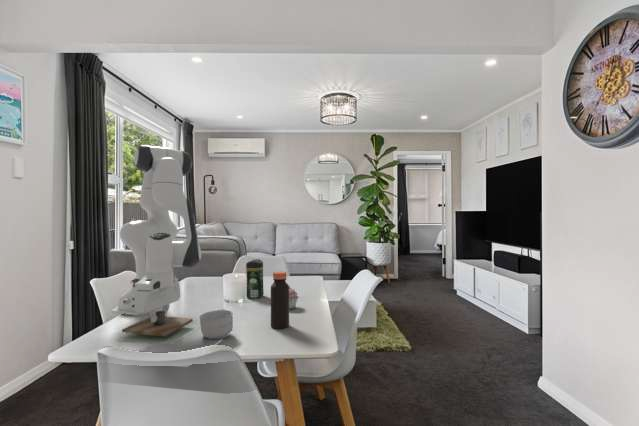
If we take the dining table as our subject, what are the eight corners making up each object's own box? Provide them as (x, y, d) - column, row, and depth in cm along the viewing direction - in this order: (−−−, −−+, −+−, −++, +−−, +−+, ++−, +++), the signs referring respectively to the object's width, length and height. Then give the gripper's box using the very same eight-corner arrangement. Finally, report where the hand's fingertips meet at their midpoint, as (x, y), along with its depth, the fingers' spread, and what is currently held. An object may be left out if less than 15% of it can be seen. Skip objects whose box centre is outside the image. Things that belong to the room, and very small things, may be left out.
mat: (116, 342, 119) (116, 340, 119) (154, 323, 138) (154, 322, 138) (171, 346, 115) (171, 344, 115) (203, 326, 135) (203, 325, 135)
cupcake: (299, 310, 157) (299, 287, 156) (277, 310, 156) (277, 287, 156) (298, 304, 166) (298, 282, 166) (278, 305, 165) (278, 283, 165)
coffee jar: (249, 294, 187) (249, 258, 187) (265, 294, 186) (264, 258, 186) (244, 299, 177) (244, 261, 177) (260, 299, 176) (260, 261, 176)
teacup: (223, 343, 117) (223, 318, 117) (193, 341, 119) (193, 317, 119) (241, 330, 131) (241, 307, 131) (213, 328, 133) (213, 306, 133)
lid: (122, 332, 121) (122, 317, 120) (154, 318, 136) (154, 304, 136) (165, 336, 117) (165, 321, 117) (192, 321, 133) (192, 307, 133)
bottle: (284, 330, 130) (284, 274, 130) (267, 328, 132) (267, 273, 132) (292, 324, 137) (291, 271, 136) (275, 322, 139) (275, 270, 139)
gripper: (169, 274, 137) (169, 310, 137) (130, 285, 117) (130, 328, 117) (184, 275, 136) (184, 312, 136) (147, 286, 116) (147, 329, 116)
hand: (159, 319), depth 127 cm, fingers closed on lid, 4 cm apart
